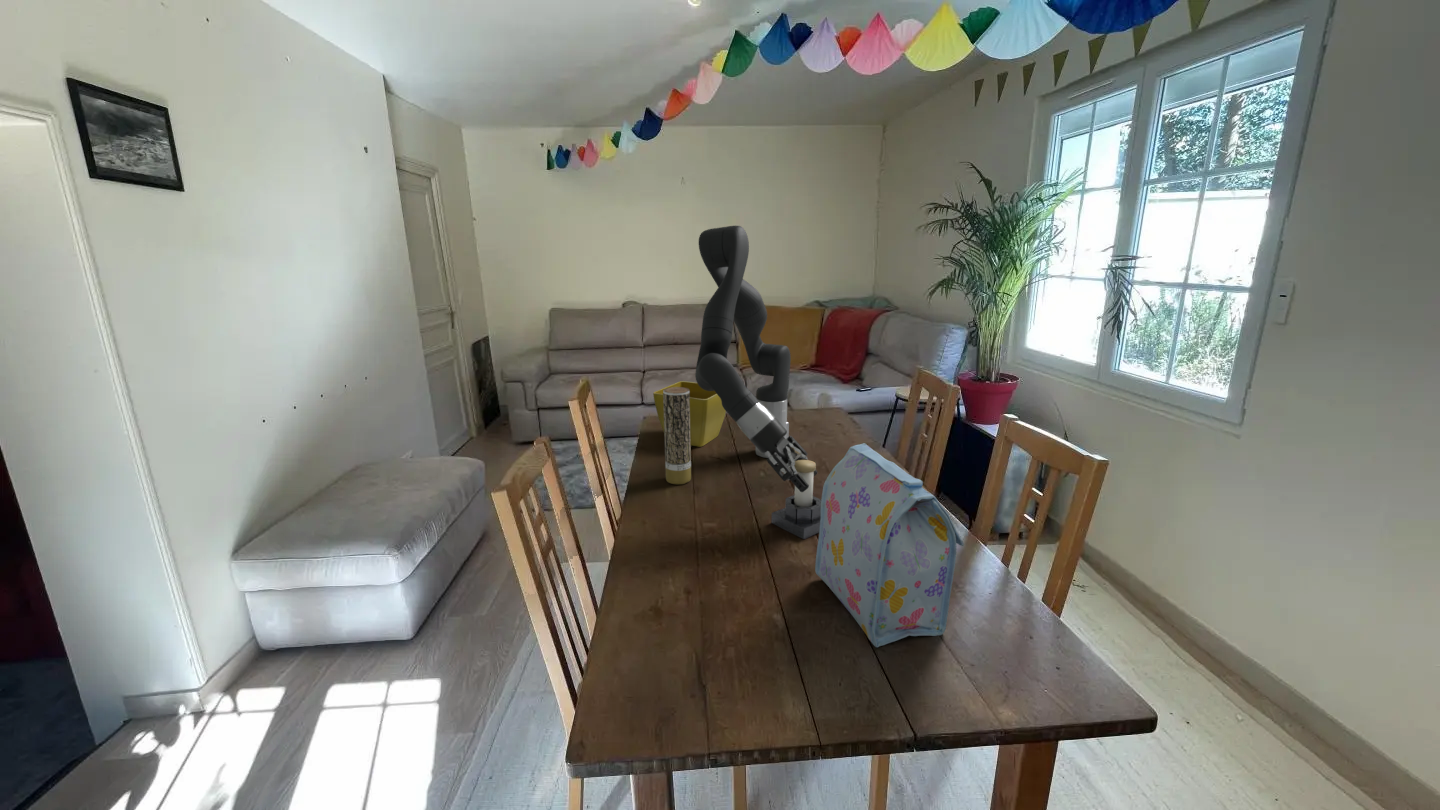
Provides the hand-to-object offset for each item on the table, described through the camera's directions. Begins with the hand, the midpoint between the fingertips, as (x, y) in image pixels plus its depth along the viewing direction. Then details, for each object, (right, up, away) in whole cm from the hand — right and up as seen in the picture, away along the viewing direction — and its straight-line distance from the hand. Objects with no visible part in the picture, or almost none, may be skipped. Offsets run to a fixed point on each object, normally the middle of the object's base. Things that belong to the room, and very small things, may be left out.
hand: (810, 482), depth 129 cm
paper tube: (-31, -3, +28) cm, 42 cm away
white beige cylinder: (-1, -7, +3) cm, 8 cm away
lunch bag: (+8, -18, -27) cm, 33 cm away
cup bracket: (-1, -10, +3) cm, 10 cm away
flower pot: (-29, +6, +63) cm, 69 cm away
